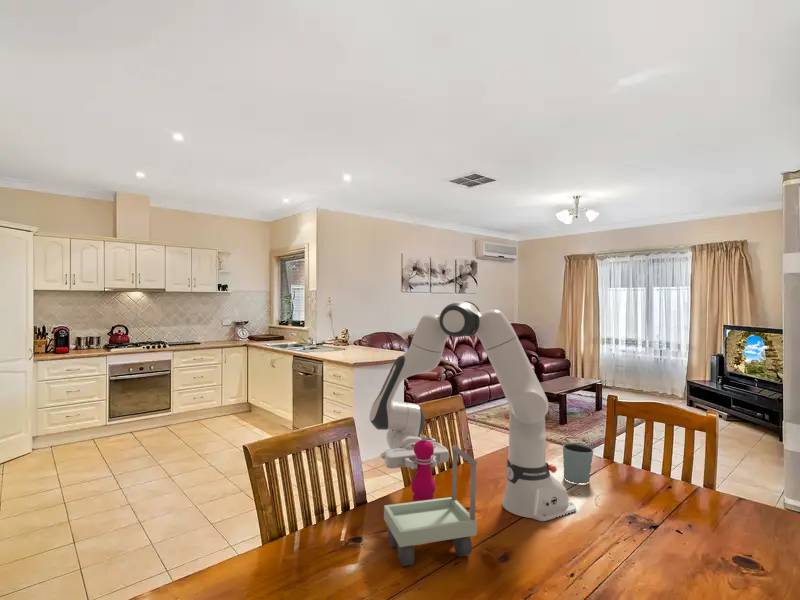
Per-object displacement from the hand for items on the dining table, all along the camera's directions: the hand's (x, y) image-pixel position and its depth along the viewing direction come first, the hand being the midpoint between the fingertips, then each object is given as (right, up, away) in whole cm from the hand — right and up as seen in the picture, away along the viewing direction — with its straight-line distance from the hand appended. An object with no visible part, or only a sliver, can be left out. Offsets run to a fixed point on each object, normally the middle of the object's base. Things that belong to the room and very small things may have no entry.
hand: (424, 465), depth 132 cm
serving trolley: (0, -15, -18) cm, 23 cm away
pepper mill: (0, -11, +1) cm, 12 cm away
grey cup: (+56, -16, +29) cm, 65 cm away
